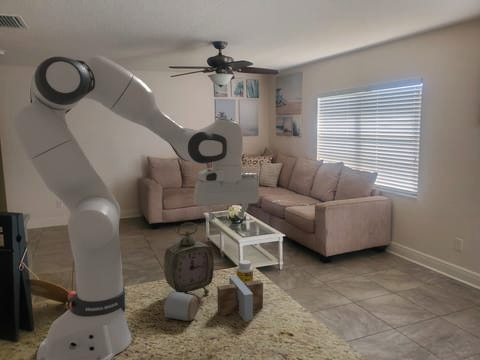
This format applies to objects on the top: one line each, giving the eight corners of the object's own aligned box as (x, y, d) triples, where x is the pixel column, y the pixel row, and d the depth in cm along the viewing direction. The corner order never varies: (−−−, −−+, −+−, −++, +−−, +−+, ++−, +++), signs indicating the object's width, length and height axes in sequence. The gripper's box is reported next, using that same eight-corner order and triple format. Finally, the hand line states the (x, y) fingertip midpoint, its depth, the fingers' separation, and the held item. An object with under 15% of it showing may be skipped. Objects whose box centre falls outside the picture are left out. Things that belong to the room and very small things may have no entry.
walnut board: (220, 314, 114) (219, 289, 113) (217, 311, 117) (217, 286, 116) (262, 307, 119) (263, 282, 118) (259, 303, 121) (259, 279, 120)
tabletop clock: (173, 306, 120) (171, 229, 116) (162, 295, 127) (160, 222, 124) (214, 295, 128) (213, 222, 124) (201, 285, 135) (200, 216, 131)
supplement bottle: (244, 295, 127) (244, 266, 126) (233, 290, 131) (233, 261, 130) (256, 290, 131) (256, 262, 130) (244, 285, 135) (244, 257, 133)
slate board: (229, 300, 124) (229, 276, 123) (236, 298, 125) (236, 275, 123) (244, 321, 111) (244, 295, 110) (252, 319, 112) (252, 293, 110)
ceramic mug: (190, 326, 108) (189, 300, 107) (163, 322, 110) (163, 297, 109) (203, 309, 118) (203, 285, 117) (179, 306, 120) (178, 282, 119)
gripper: (255, 171, 121) (254, 214, 123) (192, 173, 115) (192, 217, 117) (263, 174, 116) (261, 219, 117) (197, 175, 109) (196, 222, 111)
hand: (226, 218), depth 117 cm, fingers open, 8 cm apart
